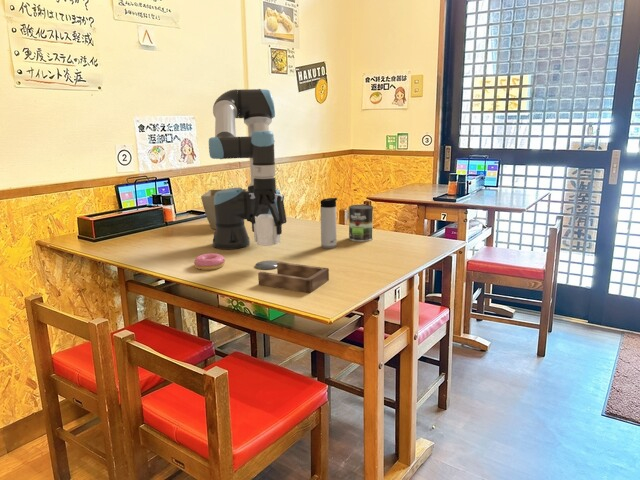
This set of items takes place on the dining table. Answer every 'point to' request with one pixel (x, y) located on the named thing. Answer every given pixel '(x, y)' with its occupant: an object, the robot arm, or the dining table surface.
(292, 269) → the brown wooden tray
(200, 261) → the doughnut
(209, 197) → the flower pot
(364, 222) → the coffee can
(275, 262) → the coaster
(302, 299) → the dining table surface
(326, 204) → the travel mug
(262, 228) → the white cup
